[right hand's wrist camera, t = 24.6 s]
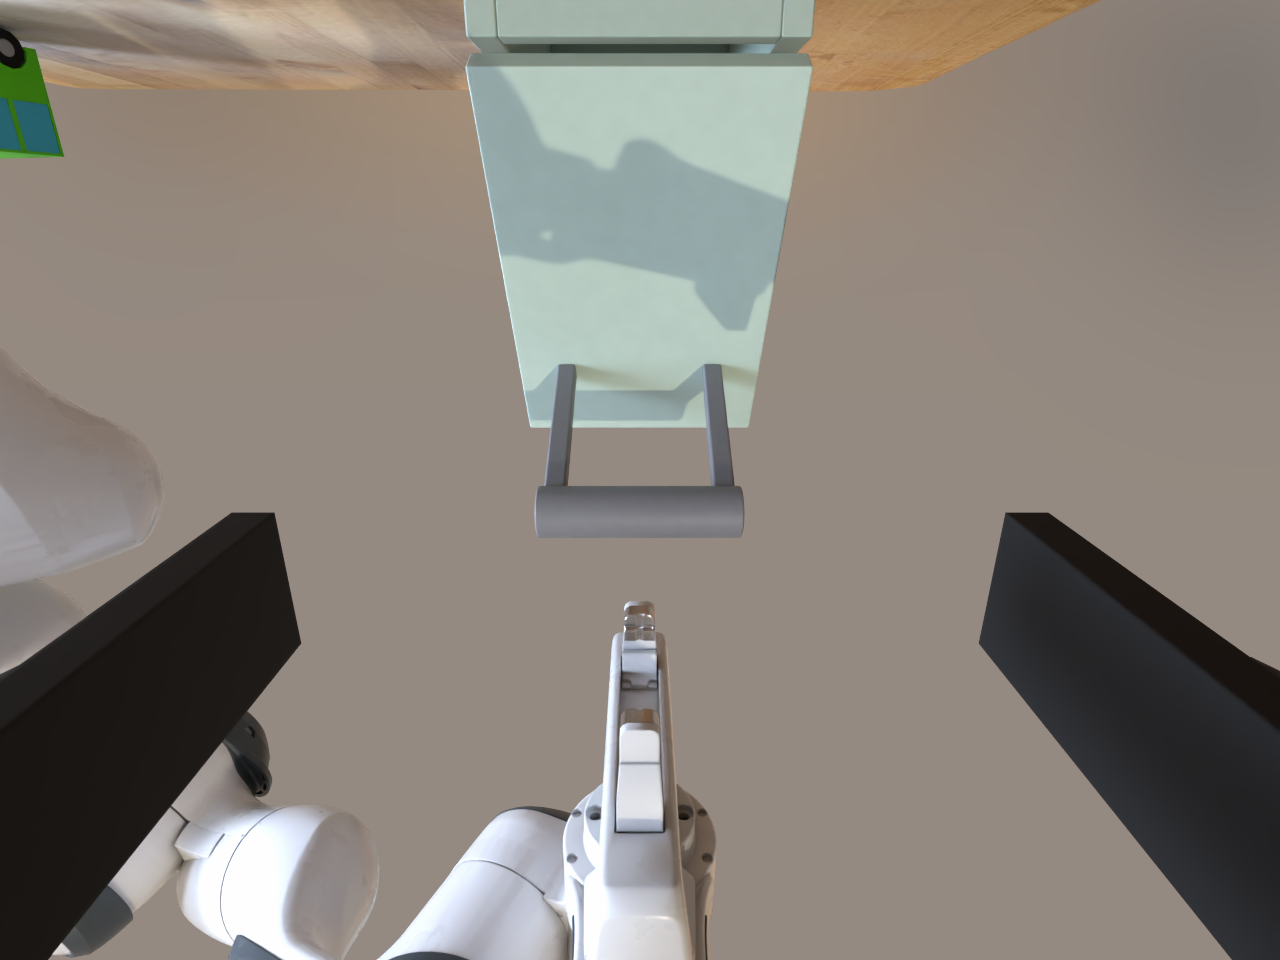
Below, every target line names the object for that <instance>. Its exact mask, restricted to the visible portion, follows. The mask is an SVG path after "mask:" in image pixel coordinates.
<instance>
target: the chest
mask: <svg viewBox="0 0 1280 960" xmlns="http://www.w3.org/2000/svg"><path fill="white" fill-rule="evenodd" d="M814 9H815V0H464V12H465V25H466V35H467V37H468V38H469V39H470V40H471V41H472V42H473V43H474V45H475V46H476V47H477V48H478V49H479V50H480V51H481V52H482V53H797V52H798V51H799V50H800V49H801V48H802V47H803V46H804V45H805V44H806V43H807V41H808V40H809V39H810V38H811V37H812V35H813V22H814Z"/></svg>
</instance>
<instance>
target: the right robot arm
mask: <svg viewBox="0 0 1280 960" xmlns="http://www.w3.org/2000/svg"><path fill="white" fill-rule="evenodd" d="M300 644H301V640H300V635H299V630H298V626H297V621H296V616H295V611H294V606H293V601H292V597H291V592H290V587H289V582H288V577H287V572H286V567H285V562H284V557H283V553H282V547H281V543H280V538H279V533H278V528H277V523H276V518H275V514H274V513H231V514H229V515H228V516H226V517H225V518H224V519H222V520H221V521H219V522H218V523H217V524H215V525H214V526H212V527H211V528H210V529H208V530H207V531H205V532H204V533H203V534H201V535H200V536H198V537H197V538H196V539H194V540H193V541H192V542H190V543H189V544H187V545H186V546H184V547H183V548H182V549H180V550H179V551H178V552H176V553H175V554H173V555H172V556H171V557H169V558H168V559H166V560H165V561H164V562H162V563H161V564H159V565H158V566H157V567H155V568H154V569H152V570H151V571H150V572H148V573H147V574H145V575H144V576H143V577H141V578H140V579H138V580H137V581H136V582H134V583H133V584H132V585H130V586H129V587H127V588H126V589H125V590H123V591H122V592H120V593H119V594H118V595H116V596H115V597H113V598H112V599H111V600H109V601H108V602H106V603H105V604H104V605H102V606H101V607H99V608H98V609H97V610H95V611H94V612H92V613H91V614H90V615H88V616H87V617H85V618H84V619H83V620H81V621H80V622H78V623H77V624H76V625H74V626H73V627H71V628H70V629H69V630H67V631H66V632H64V633H63V634H62V635H60V636H59V637H57V638H56V639H55V640H53V641H52V642H51V643H49V644H48V645H46V646H45V647H44V648H42V649H41V650H39V651H38V652H37V653H35V654H34V655H32V656H31V657H30V658H28V659H27V660H25V661H24V662H23V663H21V664H20V665H18V666H16V667H14V668H12V669H10V670H7V671H5V672H3V673H1V674H0V960H48V959H49V958H50V957H51V955H52V954H53V953H54V952H55V950H56V949H57V948H58V947H59V945H60V944H61V943H62V942H63V940H64V939H65V938H66V937H67V935H68V934H69V933H70V932H71V930H72V929H73V928H74V927H75V925H76V924H77V923H78V922H79V920H80V919H81V918H82V917H83V915H84V914H85V913H86V912H87V910H88V909H89V908H90V907H91V905H92V904H93V903H94V902H95V900H96V899H97V898H98V897H99V895H100V894H101V893H102V892H103V890H104V889H105V888H106V887H107V885H108V884H109V883H110V882H111V880H112V879H113V878H114V877H115V875H116V874H117V873H118V872H119V870H120V869H121V868H122V867H123V865H124V864H125V863H126V862H127V860H128V859H129V858H130V857H131V855H132V854H133V853H134V852H135V850H136V849H137V848H138V847H139V845H140V844H141V843H142V842H143V840H144V839H145V838H146V837H147V835H148V834H149V833H150V832H151V830H152V829H153V828H154V827H155V825H156V824H157V823H158V822H159V820H160V819H161V818H162V817H163V815H164V814H165V813H166V812H167V810H168V809H169V808H170V807H171V805H172V804H173V803H174V802H175V800H176V799H177V798H178V797H179V795H180V794H181V793H182V792H183V790H184V789H185V788H186V787H187V785H188V784H189V783H190V782H191V780H192V779H193V778H194V777H195V775H196V774H197V773H198V772H199V770H200V769H201V768H202V767H203V765H204V764H205V763H206V762H207V760H208V759H209V758H210V757H211V755H212V754H213V753H214V752H215V750H216V749H217V748H218V747H219V745H220V744H221V743H222V742H223V740H224V739H225V738H226V737H227V735H228V734H229V733H230V732H231V730H232V729H233V728H234V727H235V725H236V724H237V723H238V722H239V720H240V719H241V718H242V717H243V715H244V714H245V713H246V712H247V710H248V709H249V708H250V707H251V705H252V704H253V703H254V702H255V700H256V699H257V698H258V697H259V695H260V694H261V693H262V692H263V690H264V689H265V688H266V687H267V685H268V684H269V683H270V682H271V680H272V679H273V678H274V677H275V675H276V674H277V673H278V672H279V670H280V669H281V668H282V667H283V665H284V664H285V663H286V662H287V660H288V659H289V658H290V657H291V655H292V654H293V653H294V652H295V650H296V649H297V648H298V647H299V645H300ZM979 644H980V646H981V647H982V648H983V649H984V650H985V652H986V653H987V654H988V655H989V657H990V658H991V659H992V660H993V662H994V663H995V664H996V665H997V667H998V668H999V669H1000V670H1001V672H1002V673H1003V674H1004V675H1005V677H1006V678H1007V679H1008V680H1009V682H1010V683H1011V684H1012V685H1013V687H1014V688H1015V689H1016V690H1017V692H1018V693H1019V694H1020V695H1021V697H1022V698H1023V699H1024V700H1025V702H1026V703H1027V704H1028V705H1029V707H1030V708H1031V709H1032V710H1033V712H1034V713H1035V714H1036V715H1037V717H1038V718H1039V719H1040V720H1041V722H1042V723H1043V724H1044V725H1045V727H1046V728H1047V729H1048V730H1049V732H1050V733H1051V734H1052V735H1053V737H1054V738H1055V739H1056V740H1057V742H1058V743H1059V744H1060V745H1061V747H1062V748H1063V749H1064V750H1065V752H1066V753H1067V754H1068V755H1069V757H1070V758H1071V759H1072V760H1073V762H1074V763H1075V764H1076V765H1077V767H1078V768H1079V769H1080V770H1081V772H1082V773H1083V774H1084V775H1085V777H1086V778H1087V779H1088V780H1089V782H1090V783H1091V784H1092V785H1093V787H1094V788H1095V789H1096V790H1097V792H1098V793H1099V794H1100V795H1101V797H1102V798H1103V799H1104V800H1105V802H1106V803H1107V804H1108V805H1109V807H1110V808H1111V809H1112V810H1113V812H1114V813H1115V814H1116V815H1117V817H1118V818H1119V819H1120V820H1121V822H1122V823H1123V824H1124V825H1125V827H1126V828H1127V829H1128V830H1129V832H1130V833H1131V834H1132V835H1133V837H1134V838H1135V839H1136V840H1137V842H1138V843H1139V844H1140V845H1141V847H1142V848H1143V849H1144V850H1145V852H1146V853H1147V854H1148V855H1149V857H1150V858H1151V859H1152V860H1153V862H1154V863H1155V864H1156V865H1157V867H1158V868H1159V869H1160V870H1161V872H1162V873H1163V874H1164V875H1165V877H1166V878H1167V879H1168V880H1169V882H1170V883H1171V884H1172V885H1173V887H1174V888H1175V889H1176V890H1177V891H1178V893H1179V894H1180V895H1181V897H1182V898H1183V899H1184V900H1185V902H1186V903H1187V904H1188V905H1189V907H1190V908H1191V909H1192V910H1193V912H1194V913H1195V914H1196V915H1197V917H1198V918H1199V919H1200V920H1201V922H1202V923H1203V924H1204V925H1205V927H1206V928H1207V929H1208V930H1209V932H1210V933H1211V934H1212V935H1213V937H1214V938H1215V939H1216V940H1217V942H1218V943H1219V944H1220V945H1221V947H1222V948H1223V949H1224V950H1225V952H1226V953H1227V954H1228V955H1229V956H1230V958H1231V959H1232V960H1280V671H1279V670H1277V669H1275V668H1273V667H1271V666H1268V665H1266V664H1264V663H1262V662H1260V661H1258V660H1256V659H1254V658H1252V657H1249V656H1248V655H1246V654H1245V653H1243V652H1242V651H1241V650H1239V649H1238V648H1236V647H1235V646H1234V645H1232V644H1231V643H1229V642H1228V641H1227V640H1225V639H1224V638H1222V637H1221V636H1220V635H1218V634H1217V633H1216V632H1214V631H1213V630H1211V629H1210V628H1209V627H1207V626H1206V625H1204V624H1203V623H1202V622H1200V621H1199V620H1197V619H1196V618H1195V617H1193V616H1192V615H1190V614H1189V613H1188V612H1186V611H1185V610H1183V609H1182V608H1181V607H1179V606H1178V605H1176V604H1175V603H1174V602H1172V601H1171V600H1169V599H1168V598H1167V597H1165V596H1164V595H1162V594H1161V593H1160V592H1158V591H1157V590H1156V589H1154V588H1153V587H1151V586H1150V585H1148V584H1147V583H1146V582H1144V581H1143V580H1142V579H1140V578H1139V577H1137V576H1136V575H1135V574H1133V573H1132V572H1130V571H1129V570H1128V569H1126V568H1125V567H1123V566H1122V565H1121V564H1119V563H1118V562H1116V561H1115V560H1114V559H1112V558H1111V557H1109V556H1108V555H1107V554H1105V553H1104V552H1102V551H1101V550H1100V549H1098V548H1097V547H1096V546H1094V545H1093V544H1091V543H1090V542H1089V541H1087V540H1086V539H1084V538H1083V537H1082V536H1080V535H1079V534H1077V533H1076V532H1075V531H1073V530H1072V529H1070V528H1069V527H1068V526H1066V525H1065V524H1063V523H1062V522H1060V521H1059V520H1058V519H1056V518H1055V517H1054V516H1052V515H1051V514H1049V513H1006V514H1005V518H1004V523H1003V528H1002V533H1001V538H1000V543H999V547H998V552H997V557H996V562H995V567H994V572H993V577H992V582H991V587H990V591H989V596H988V601H987V606H986V611H985V616H984V621H983V626H982V630H981V635H980V640H979Z"/></svg>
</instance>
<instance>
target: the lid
mask: <svg viewBox="0 0 1280 960" xmlns="http://www.w3.org/2000/svg"><path fill="white" fill-rule="evenodd" d="M812 71H813V66H812V63H811V60H810V58H809V55H808V54H807V53H472V54H470V57H469V60H468V62H467V65H466V73H467V78H468V84H469V90H470V95H471V101H472V106H473V112H474V117H475V123H476V128H477V134H478V139H479V145H480V150H481V155H482V161H483V167H484V172H485V178H486V184H487V189H488V194H489V200H490V206H491V211H492V217H493V222H494V228H495V233H496V239H497V245H498V250H499V255H500V261H501V267H502V272H503V278H504V283H505V289H506V294H507V300H508V305H509V311H510V316H511V322H512V328H513V333H514V339H515V344H516V350H517V355H518V361H519V366H520V372H521V377H522V383H523V388H524V394H525V400H526V405H527V410H528V416H529V422H530V426H531V427H551V430H550V439H549V448H548V458H547V466H546V475H545V485H544V486H539V487H538V488H537V491H536V497H535V528H536V534H537V536H538V537H539V538H740V537H741V536H742V533H743V527H744V499H743V492H742V489H741V487H740V486H735V485H734V476H733V467H732V458H731V449H730V440H729V431H728V427H749V421H750V416H751V410H752V405H753V399H754V394H755V388H756V382H757V377H758V371H759V366H760V360H761V355H762V349H763V344H764V338H765V333H766V327H767V321H768V316H769V310H770V305H771V299H772V293H773V288H774V282H775V277H776V271H777V266H778V260H779V255H780V249H781V243H782V238H783V232H784V227H785V221H786V215H787V210H788V205H789V199H790V193H791V188H792V182H793V177H794V171H795V166H796V160H797V155H798V149H799V143H800V138H801V132H802V127H803V121H804V116H805V110H806V104H807V99H808V93H809V88H810V82H811V77H812ZM572 427H706V428H707V441H708V452H709V465H710V476H711V486H568V475H569V463H570V451H571V439H572Z"/></svg>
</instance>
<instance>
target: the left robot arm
mask: <svg viewBox="0 0 1280 960" xmlns="http://www.w3.org/2000/svg"><path fill="white" fill-rule="evenodd" d="M163 503H164V482H163V477H162V473H161V470H160V467H159V465H158V463H157V461H156V459H155V457H154V455H153V454H152V452H151V451H150V449H149V448H148V447H147V446H146V444H145V443H144V442H143V441H142V440H141V439H140V438H139V437H138V436H136V435H135V434H134V433H133V432H131V431H130V430H129V429H127V428H126V427H124V426H123V425H121V424H120V423H118V422H116V421H114V420H112V419H110V418H107V417H105V416H102V415H99V414H97V413H94V412H91V411H89V410H87V409H85V408H83V407H81V406H79V405H77V404H75V403H73V402H71V401H69V400H67V399H66V398H64V397H62V396H60V395H59V394H57V393H55V392H54V391H52V390H51V389H49V388H48V387H47V386H45V385H44V384H42V383H41V382H40V381H38V380H37V379H36V378H34V377H33V376H32V375H31V374H29V373H28V372H27V371H26V370H25V369H24V368H23V367H21V366H20V365H19V364H18V363H17V362H16V361H15V360H14V359H13V358H12V357H11V356H10V355H9V354H8V352H7V351H6V350H5V349H4V348H3V347H2V346H1V344H0V674H1V673H3V672H5V671H7V670H10V669H12V668H14V667H16V666H18V665H20V664H21V663H23V662H24V661H25V660H27V659H28V658H30V657H31V656H32V655H34V654H35V653H37V652H38V651H39V650H41V649H42V648H44V647H45V646H46V645H48V644H49V643H51V642H52V641H53V640H55V639H56V638H57V637H59V636H60V635H62V634H63V633H64V632H66V631H67V630H69V629H70V628H71V627H73V626H74V625H76V624H77V623H78V622H80V621H81V620H83V619H84V618H85V617H87V616H86V614H85V612H84V610H83V608H82V607H81V605H80V604H79V603H78V602H77V601H76V600H75V599H74V598H72V597H71V596H70V595H69V594H67V593H66V592H64V591H63V590H61V589H59V588H58V587H56V586H54V585H52V584H49V583H47V582H44V581H41V580H37V579H39V578H44V577H48V576H53V575H58V574H63V573H67V572H71V571H73V570H76V569H79V568H82V567H85V566H87V565H90V564H93V563H96V562H99V561H101V560H104V559H107V558H109V557H112V556H114V555H117V554H119V553H122V552H125V551H127V550H130V549H132V548H135V547H137V546H140V545H142V544H143V543H144V541H145V540H146V539H147V538H148V537H149V535H150V534H151V532H152V531H153V529H154V528H155V526H156V524H157V522H158V520H159V517H160V514H161V511H162V507H163ZM269 760H270V755H269V748H268V743H267V739H266V735H265V732H264V730H263V728H262V727H261V725H260V724H259V723H258V721H257V720H256V719H255V718H254V717H253V716H252V715H251V714H250V713H248V712H246V713H245V714H244V715H243V717H242V718H241V719H240V720H239V722H238V723H237V724H236V725H235V727H234V728H233V729H232V730H231V732H230V733H229V734H228V735H227V737H226V738H225V739H224V740H223V742H222V743H221V744H220V745H219V747H218V748H217V749H216V750H215V752H214V753H213V754H212V755H211V757H210V758H209V759H208V760H207V762H206V763H205V764H204V765H203V767H202V768H201V769H200V770H199V772H198V773H197V774H196V775H195V777H194V778H193V779H192V780H191V782H190V783H189V784H188V785H187V787H186V788H185V789H184V790H183V792H182V793H181V794H180V795H179V797H178V798H177V799H176V800H175V802H174V803H173V804H172V805H171V807H170V808H169V809H168V810H167V812H166V813H165V814H164V815H163V817H162V818H161V819H160V820H159V822H158V823H157V824H156V825H155V827H154V828H153V829H152V830H151V832H150V833H149V834H148V835H147V837H146V838H145V839H144V840H143V842H142V843H141V844H140V845H139V847H138V848H137V849H136V850H135V852H134V853H133V854H132V855H131V857H130V858H129V859H128V860H127V862H126V863H125V864H124V865H123V867H122V868H121V869H120V870H119V872H118V873H117V874H116V875H115V877H114V878H113V879H112V880H111V882H110V883H109V884H108V885H107V887H106V888H105V889H104V890H103V892H102V893H101V894H100V895H99V897H98V898H97V899H96V900H95V902H94V903H93V904H92V905H91V907H90V908H89V909H88V910H87V912H86V913H85V914H84V915H83V917H82V918H81V919H80V920H79V922H78V923H77V924H76V925H75V927H74V928H73V929H72V930H71V932H70V933H69V934H68V935H67V937H66V938H65V939H64V940H63V942H62V943H61V944H60V945H59V947H58V948H57V949H56V950H55V952H54V953H53V954H52V955H63V956H67V957H77V956H83V955H88V954H91V953H92V952H94V951H95V950H97V949H98V948H100V947H101V946H103V945H104V944H105V943H106V942H108V941H109V940H110V939H111V938H113V937H114V936H115V935H116V934H117V933H119V932H120V931H121V930H122V929H123V928H124V927H125V926H126V925H128V924H129V923H130V922H131V921H132V920H133V913H134V912H136V911H137V910H138V909H139V908H140V907H141V906H142V905H143V904H144V903H145V902H146V901H147V900H149V898H151V897H152V896H153V895H154V894H155V893H156V892H157V891H158V890H159V889H160V888H161V887H162V886H163V885H164V884H165V883H166V882H167V881H168V880H169V879H170V878H171V877H172V876H173V874H175V872H176V871H177V872H179V873H178V878H177V899H178V903H179V906H180V908H181V910H182V912H183V914H184V916H185V917H186V918H187V919H188V920H189V921H190V922H191V923H192V924H193V925H194V926H196V927H197V928H198V929H200V930H201V931H202V932H204V933H206V934H207V935H209V936H210V937H212V938H214V939H216V940H218V941H220V942H223V943H225V944H227V945H230V946H232V948H231V951H230V954H229V957H228V958H229V960H343V959H344V957H345V955H346V954H347V952H348V950H349V949H350V947H351V945H352V944H353V942H354V941H355V939H356V937H357V936H358V934H359V933H360V931H361V930H362V928H363V926H364V925H365V923H366V921H367V919H368V917H369V915H370V913H371V910H372V908H373V905H374V901H375V898H376V894H377V889H378V881H379V861H378V854H377V849H376V846H375V843H374V840H373V838H372V836H371V834H370V832H369V831H368V829H367V828H366V826H365V825H364V824H363V822H362V821H361V820H360V819H359V818H357V817H356V816H354V815H353V814H351V813H349V812H347V811H345V810H343V809H340V808H337V807H333V806H327V805H277V806H275V805H268V804H265V803H263V802H261V801H259V800H258V799H257V798H256V797H255V796H257V797H262V796H265V795H266V794H267V793H268V792H269V790H270V787H271V784H272V777H271V774H270V771H269V770H268V765H269ZM715 859H716V834H715V830H714V826H713V823H712V821H711V819H710V817H709V815H708V813H707V811H706V810H705V809H704V807H703V806H702V805H701V804H700V803H699V802H698V801H697V800H696V799H695V798H694V797H693V796H692V795H690V794H689V793H688V792H686V791H685V790H684V789H683V788H682V787H681V786H679V785H678V784H677V783H676V773H675V758H674V742H673V727H672V712H671V697H670V682H669V667H668V652H667V643H666V638H665V636H664V635H663V634H662V633H658V632H655V607H654V604H652V603H651V602H649V601H630V602H628V603H627V604H626V605H625V607H624V632H621V633H618V634H616V635H615V636H614V638H613V642H612V652H611V668H610V683H609V699H608V715H607V731H606V746H605V762H604V778H603V783H602V784H601V785H600V786H599V787H598V788H597V789H596V790H594V791H593V792H591V793H590V794H589V795H587V796H586V797H585V798H584V799H583V800H582V801H581V802H580V803H579V804H578V805H577V806H576V807H575V809H574V810H573V812H572V813H568V812H564V811H561V810H556V809H551V808H545V807H534V806H527V807H517V808H513V809H509V810H506V811H503V812H501V813H500V814H498V815H497V816H496V817H495V818H494V819H493V820H492V821H491V823H490V824H489V825H488V826H487V827H486V828H485V830H484V831H483V832H482V833H481V834H480V836H479V837H478V838H477V839H476V841H475V842H474V843H473V844H472V845H471V847H470V848H469V849H468V850H467V852H466V853H465V854H464V856H463V857H462V858H461V859H460V861H459V862H458V863H457V865H456V866H455V867H454V868H453V870H452V872H451V873H450V875H449V876H448V877H447V879H446V880H445V881H444V883H443V884H442V885H441V886H440V888H439V889H438V890H437V891H436V893H435V894H434V895H433V897H432V898H431V899H430V900H429V902H428V903H427V904H426V906H425V907H424V908H423V909H422V911H421V912H420V913H419V915H418V916H417V917H416V918H415V920H414V921H413V922H412V923H411V925H410V926H409V927H408V929H407V930H406V931H405V932H404V934H403V935H402V936H401V937H400V938H399V939H398V940H397V941H396V942H395V944H394V945H393V946H392V947H391V948H390V949H388V950H387V951H386V952H385V953H384V954H383V955H382V956H381V957H380V958H379V959H377V960H710V939H709V933H708V927H709V924H710V921H711V916H712V911H713V898H714V880H715Z"/></svg>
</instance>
